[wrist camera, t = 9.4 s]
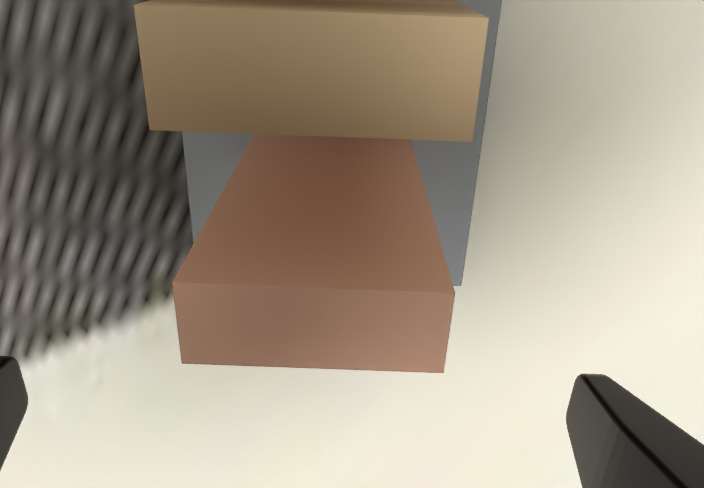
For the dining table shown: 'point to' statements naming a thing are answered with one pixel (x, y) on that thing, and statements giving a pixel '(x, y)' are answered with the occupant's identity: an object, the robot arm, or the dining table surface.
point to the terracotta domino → (318, 262)
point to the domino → (313, 67)
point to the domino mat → (432, 156)
